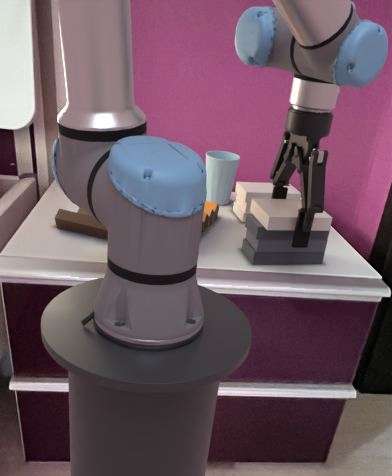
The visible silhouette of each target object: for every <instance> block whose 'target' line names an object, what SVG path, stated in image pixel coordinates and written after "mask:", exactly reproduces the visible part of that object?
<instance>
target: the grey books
mask: <svg viewBox="0 0 392 476" xmlns="http://www.w3.org/2000/svg"><path fill="white" fill-rule="evenodd" d="M244 227H245V228H246V233H245V238H244V237H243V239H242V245H241V251H242V252H243V254H244V255H245V257H246V258H247V259H248V261H249V263H251V265H322V264H323V263H324V262H323V261H324V258H325V253H326V250H327V249H326V248H327V246H328V239H329V236H330V231H311V233H310V237H309V242H308V246H307V248H293V247H292V241H293V236H294V231H295V230H267V229H266V228H265V227H264V226H263V225H262V224H261V223H260V222H259V221H258V219H257V218H256V217H255V216H254V215H253V214H247V216H246V222H244Z"/></svg>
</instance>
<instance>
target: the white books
mask: <svg viewBox="0 0 392 476" xmlns="http://www.w3.org/2000/svg"><path fill="white" fill-rule="evenodd" d="M289 185H290V186H284V187H287V188H288V192H287V197H286V199H299V200H301V191H299V190H298V189H297V188H295V186H293V185H292V184H291V183H289ZM273 187H274V186H273V183H272V182H259V181H255V182H254V181H253V182H252V181H236V183H235V191H234V192H235V193H236V197H235V201H233V208H232V212H233V213H234V214H235V216H236V217H237V218H238V219H239V221H240V222H242V223H245V222H246V216H247V214H252V213H251V212H250V207H251V201H252V198H256V199H271V198H272V192H273Z"/></svg>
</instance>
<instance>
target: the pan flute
mask: <svg viewBox="0 0 392 476" xmlns="http://www.w3.org/2000/svg"><path fill="white" fill-rule="evenodd" d="M219 209H220V205H218V204H217V203H212V202H208V201H206V200H205V206H204V213H203V221H202V229H201V235H202V233H203V232H205V231H206V230H207V229H208V227H210V226H211V225H212V224H213V221H215V220H216V219H217V218H218V215H219V212H220V211H219ZM54 222H55V226H56V228H58V229H61V230H66V231H70V232H74V233H78V234H83V235H87V236H90V237H95V238H100V239H104V240H108V230H107V228H106V227H104V226H103V225H102V224H101V223H99V222H98V221H97V220H96V219H94V218H93V217H92V216H90V215H89V214H88V213H87V212H85V211H84V210H83V209H81V208H79V207H78V210H77V212H76V211H72V210H67V209H63V208H58V210H57V212H56V214H55V216H54Z"/></svg>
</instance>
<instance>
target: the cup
mask: <svg viewBox="0 0 392 476" xmlns="http://www.w3.org/2000/svg"><path fill="white" fill-rule="evenodd" d="M240 162H241V156H240V155H239V154H237V153H234V152H230V151H226V150H208V151H206V152H205V166H206V172H207V178H206V188H207V189H206V190H207V197H206V200H205V201H208V202H212V203H217V204H218V206H223V205H228V204H229V203H230V200H231V196H232V193H233V190H234V189H233V188H234V184H235V181H236V176H237V173H238V168H239V165H240Z"/></svg>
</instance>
